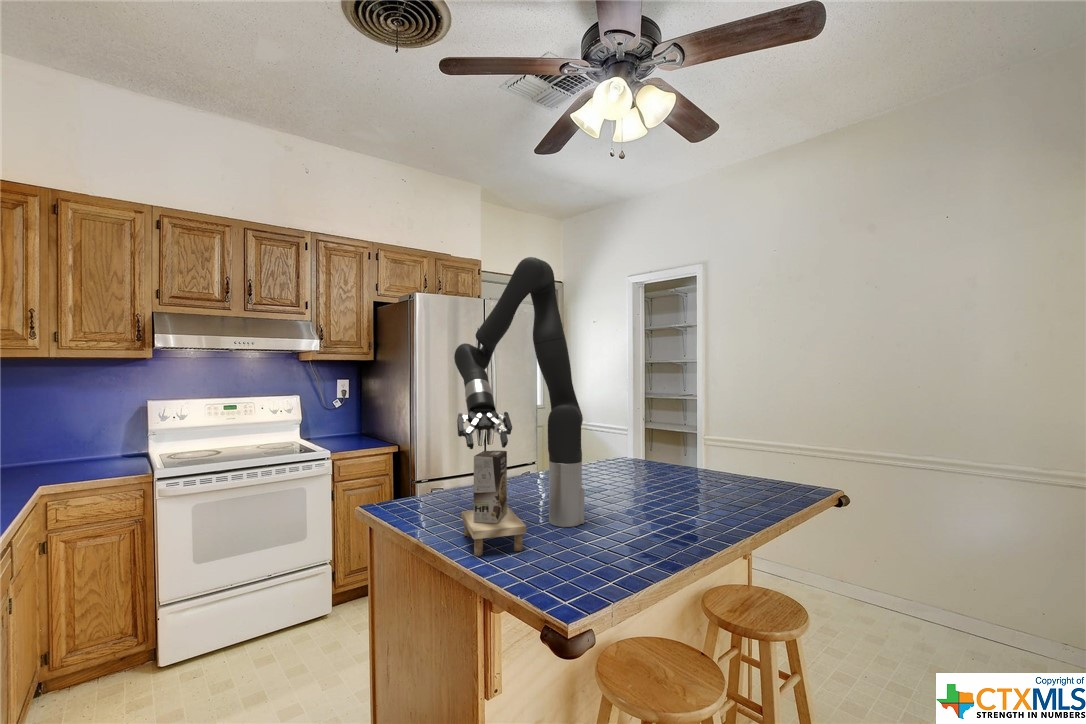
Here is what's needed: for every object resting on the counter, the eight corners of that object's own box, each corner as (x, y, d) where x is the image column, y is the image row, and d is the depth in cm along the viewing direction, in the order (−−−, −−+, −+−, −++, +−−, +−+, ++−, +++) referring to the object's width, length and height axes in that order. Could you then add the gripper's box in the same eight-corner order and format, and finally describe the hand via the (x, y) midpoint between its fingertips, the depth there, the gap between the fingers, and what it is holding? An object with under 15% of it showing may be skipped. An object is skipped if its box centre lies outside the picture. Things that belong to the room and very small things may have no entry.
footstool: (508, 529, 134) (508, 507, 134) (526, 551, 118) (526, 526, 119) (461, 534, 130) (461, 511, 130) (473, 557, 115) (473, 531, 115)
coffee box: (498, 524, 120) (498, 456, 120) (472, 522, 121) (472, 455, 121) (508, 513, 129) (507, 450, 129) (483, 511, 130) (483, 449, 130)
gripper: (455, 390, 135) (462, 439, 124) (506, 389, 140) (517, 436, 129) (452, 408, 140) (459, 456, 129) (502, 407, 145) (512, 453, 134)
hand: (488, 446), depth 129 cm, fingers open, 8 cm apart
